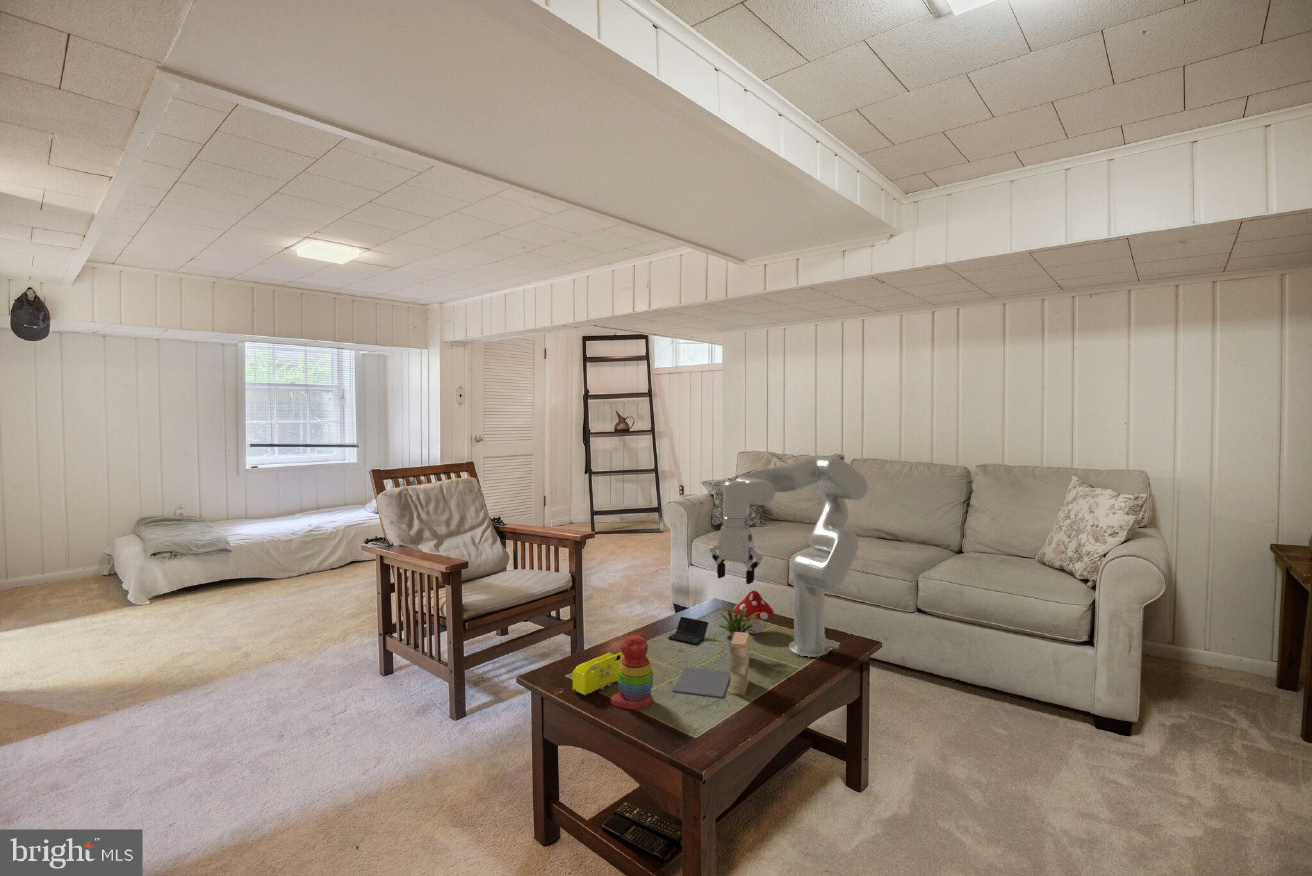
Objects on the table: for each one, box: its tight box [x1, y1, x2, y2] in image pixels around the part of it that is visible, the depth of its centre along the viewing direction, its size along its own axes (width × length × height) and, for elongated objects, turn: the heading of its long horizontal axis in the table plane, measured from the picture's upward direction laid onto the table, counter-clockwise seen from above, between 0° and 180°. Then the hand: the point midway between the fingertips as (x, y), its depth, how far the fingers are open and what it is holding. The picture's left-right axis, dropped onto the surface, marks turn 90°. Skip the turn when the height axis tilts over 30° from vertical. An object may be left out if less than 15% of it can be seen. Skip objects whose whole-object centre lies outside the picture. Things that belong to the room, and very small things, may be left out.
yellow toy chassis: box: [572, 652, 624, 696], centre depth 173 cm, size 16×6×8 cm, turn 138°
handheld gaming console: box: [667, 616, 709, 647], centre depth 209 cm, size 12×7×10 cm
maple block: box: [729, 632, 750, 696], centre depth 172 cm, size 4×9×14 cm, turn 164°
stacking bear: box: [609, 633, 654, 710], centre depth 164 cm, size 11×10×18 cm
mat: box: [672, 666, 730, 699], centre depth 175 cm, size 14×16×1 cm
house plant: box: [717, 606, 760, 660], centre depth 191 cm, size 14×14×16 cm
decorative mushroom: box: [732, 590, 775, 635], centre depth 214 cm, size 14×14×15 cm
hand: (735, 580), depth 181 cm, fingers open, 9 cm apart
